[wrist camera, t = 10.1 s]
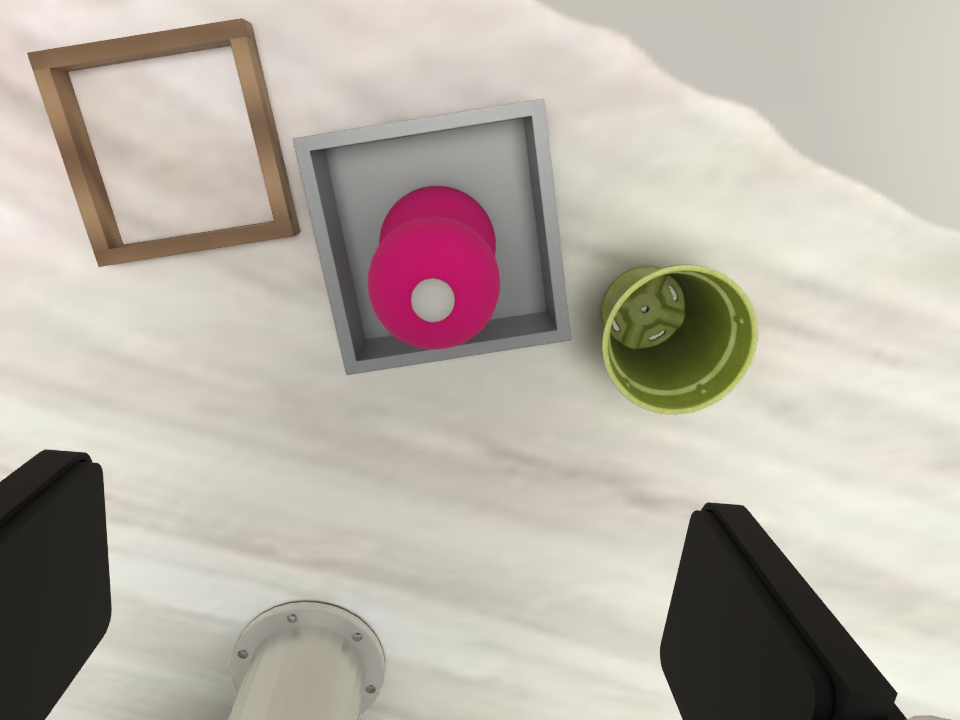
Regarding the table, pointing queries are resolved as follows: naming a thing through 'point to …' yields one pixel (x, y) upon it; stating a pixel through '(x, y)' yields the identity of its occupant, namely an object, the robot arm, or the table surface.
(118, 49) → the brown wooden picture frame
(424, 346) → the pepper mill
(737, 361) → the plant pot
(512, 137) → the bin
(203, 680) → the table surface
